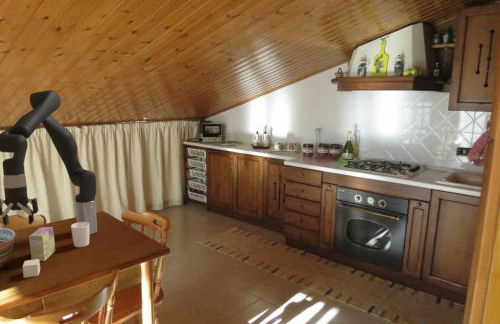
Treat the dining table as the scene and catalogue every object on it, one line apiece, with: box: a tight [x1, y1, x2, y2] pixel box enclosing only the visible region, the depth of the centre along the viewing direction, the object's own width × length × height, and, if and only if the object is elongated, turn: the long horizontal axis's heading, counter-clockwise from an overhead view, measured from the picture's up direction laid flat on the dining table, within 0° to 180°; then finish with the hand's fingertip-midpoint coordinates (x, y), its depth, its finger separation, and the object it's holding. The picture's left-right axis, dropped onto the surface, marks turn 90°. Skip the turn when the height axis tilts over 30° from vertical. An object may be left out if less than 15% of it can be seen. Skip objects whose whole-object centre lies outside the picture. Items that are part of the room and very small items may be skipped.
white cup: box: [70, 222, 90, 248], centre depth 173 cm, size 8×8×10 cm
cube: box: [22, 259, 41, 279], centre depth 145 cm, size 5×5×5 cm
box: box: [28, 226, 56, 262], centre depth 160 cm, size 10×6×12 cm, turn 5°
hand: (18, 224), depth 145 cm, fingers open, 8 cm apart
